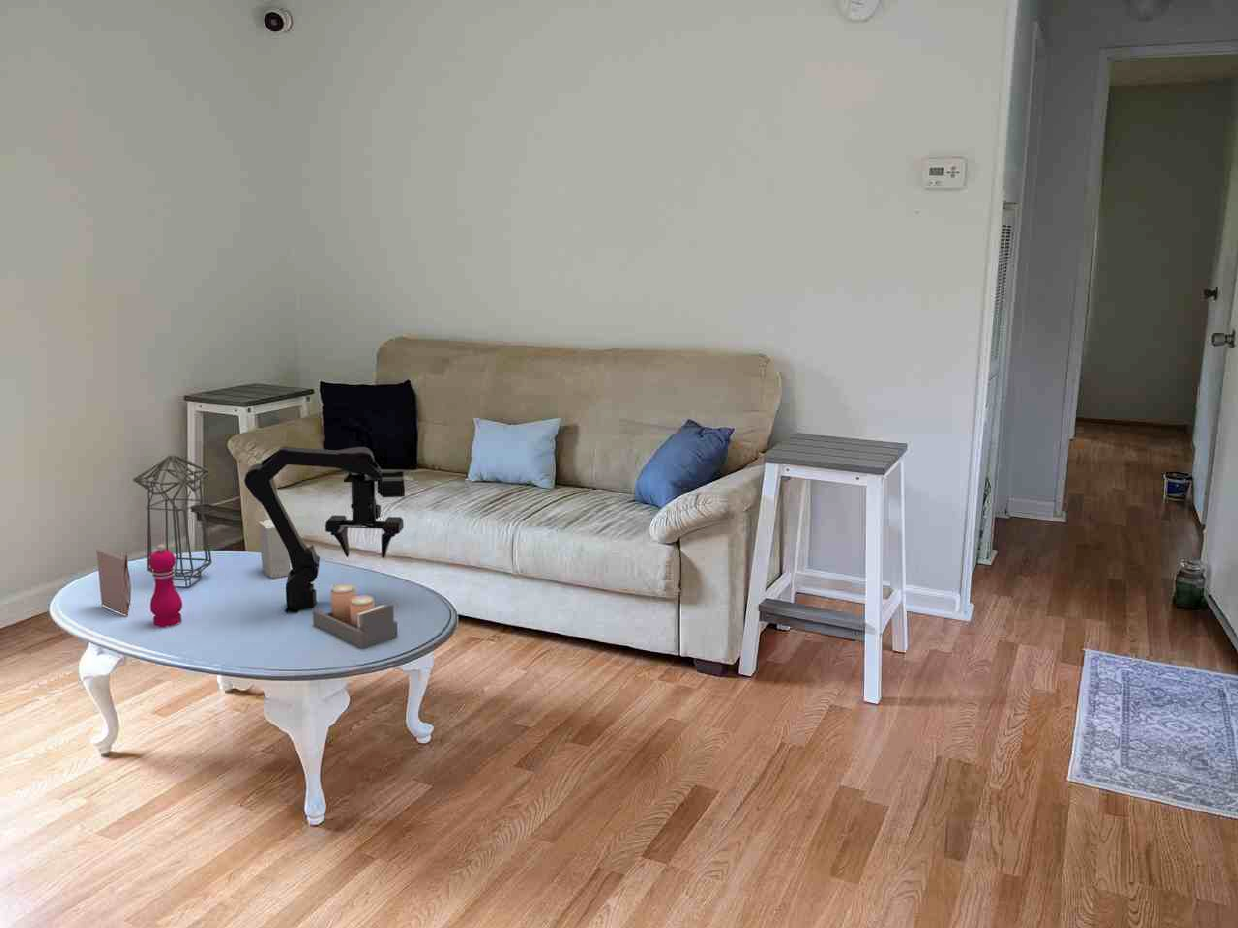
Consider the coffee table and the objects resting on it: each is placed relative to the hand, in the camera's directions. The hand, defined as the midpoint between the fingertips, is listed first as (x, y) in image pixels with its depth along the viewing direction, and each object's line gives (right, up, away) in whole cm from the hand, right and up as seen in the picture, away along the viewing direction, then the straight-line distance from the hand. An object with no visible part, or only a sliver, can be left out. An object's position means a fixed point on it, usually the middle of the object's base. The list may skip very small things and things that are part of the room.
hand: (365, 556), depth 271 cm
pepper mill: (-46, -15, -11) cm, 50 cm away
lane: (+1, -17, -15) cm, 23 cm away
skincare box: (-31, -7, +24) cm, 40 cm away
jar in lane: (+4, -17, -18) cm, 25 cm away
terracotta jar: (-2, -16, -13) cm, 20 cm away
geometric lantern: (-54, -8, +17) cm, 57 cm away
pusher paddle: (+7, -18, -21) cm, 28 cm away
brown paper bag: (-62, -13, -4) cm, 63 cm away
